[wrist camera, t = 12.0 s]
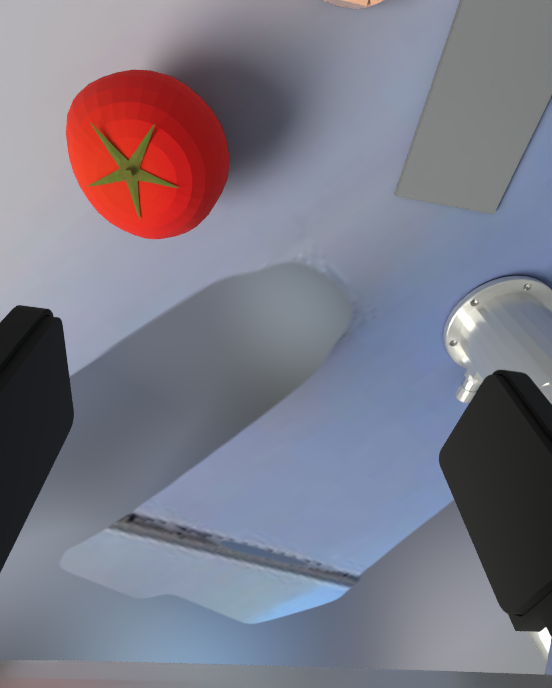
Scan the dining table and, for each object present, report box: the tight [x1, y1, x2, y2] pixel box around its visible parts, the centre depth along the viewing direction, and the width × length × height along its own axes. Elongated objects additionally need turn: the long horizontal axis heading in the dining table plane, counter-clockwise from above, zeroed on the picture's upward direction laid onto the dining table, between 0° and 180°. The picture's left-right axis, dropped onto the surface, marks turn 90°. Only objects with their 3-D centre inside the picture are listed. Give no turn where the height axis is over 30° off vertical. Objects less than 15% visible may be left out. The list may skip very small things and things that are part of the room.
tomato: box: [66, 70, 230, 239], centre depth 31 cm, size 11×11×13 cm
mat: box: [395, 0, 552, 214], centre depth 36 cm, size 16×10×1 cm, turn 170°
